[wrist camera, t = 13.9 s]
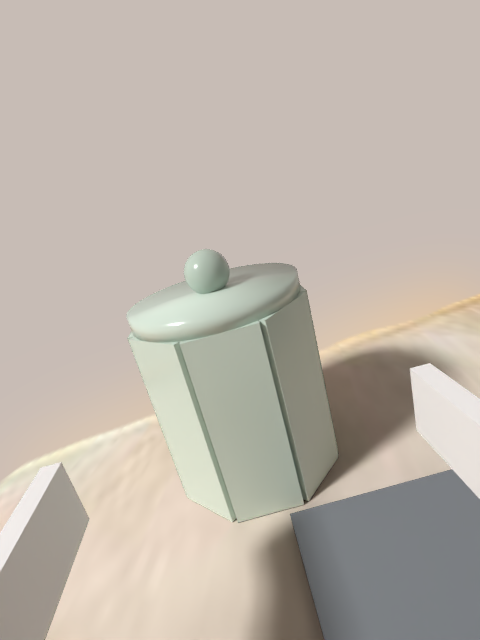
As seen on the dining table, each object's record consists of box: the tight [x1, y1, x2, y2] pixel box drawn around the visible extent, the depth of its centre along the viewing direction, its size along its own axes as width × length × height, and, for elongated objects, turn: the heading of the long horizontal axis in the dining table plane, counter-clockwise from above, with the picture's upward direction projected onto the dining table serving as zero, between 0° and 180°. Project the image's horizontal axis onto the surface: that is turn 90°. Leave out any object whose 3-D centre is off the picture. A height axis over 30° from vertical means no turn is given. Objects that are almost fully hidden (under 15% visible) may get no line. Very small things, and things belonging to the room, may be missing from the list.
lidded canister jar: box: [127, 249, 339, 523], centre depth 23 cm, size 10×10×14 cm
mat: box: [290, 469, 480, 640], centre depth 15 cm, size 10×10×1 cm
